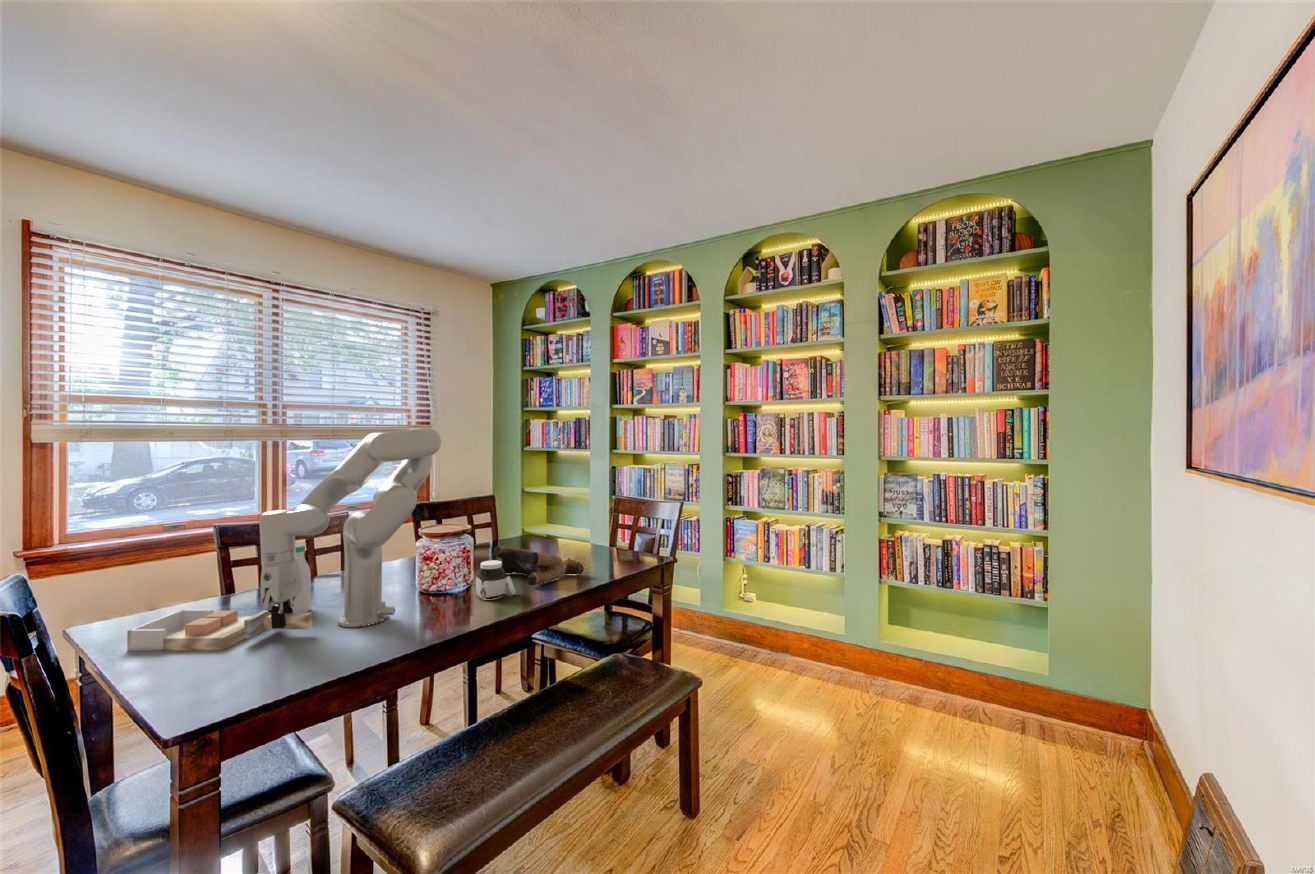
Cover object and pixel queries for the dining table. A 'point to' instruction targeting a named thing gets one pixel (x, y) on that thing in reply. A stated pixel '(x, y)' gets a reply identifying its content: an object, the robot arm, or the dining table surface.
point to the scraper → (264, 623)
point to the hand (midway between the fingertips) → (282, 624)
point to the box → (161, 630)
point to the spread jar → (492, 580)
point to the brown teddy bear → (536, 564)
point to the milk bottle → (303, 583)
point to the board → (208, 638)
